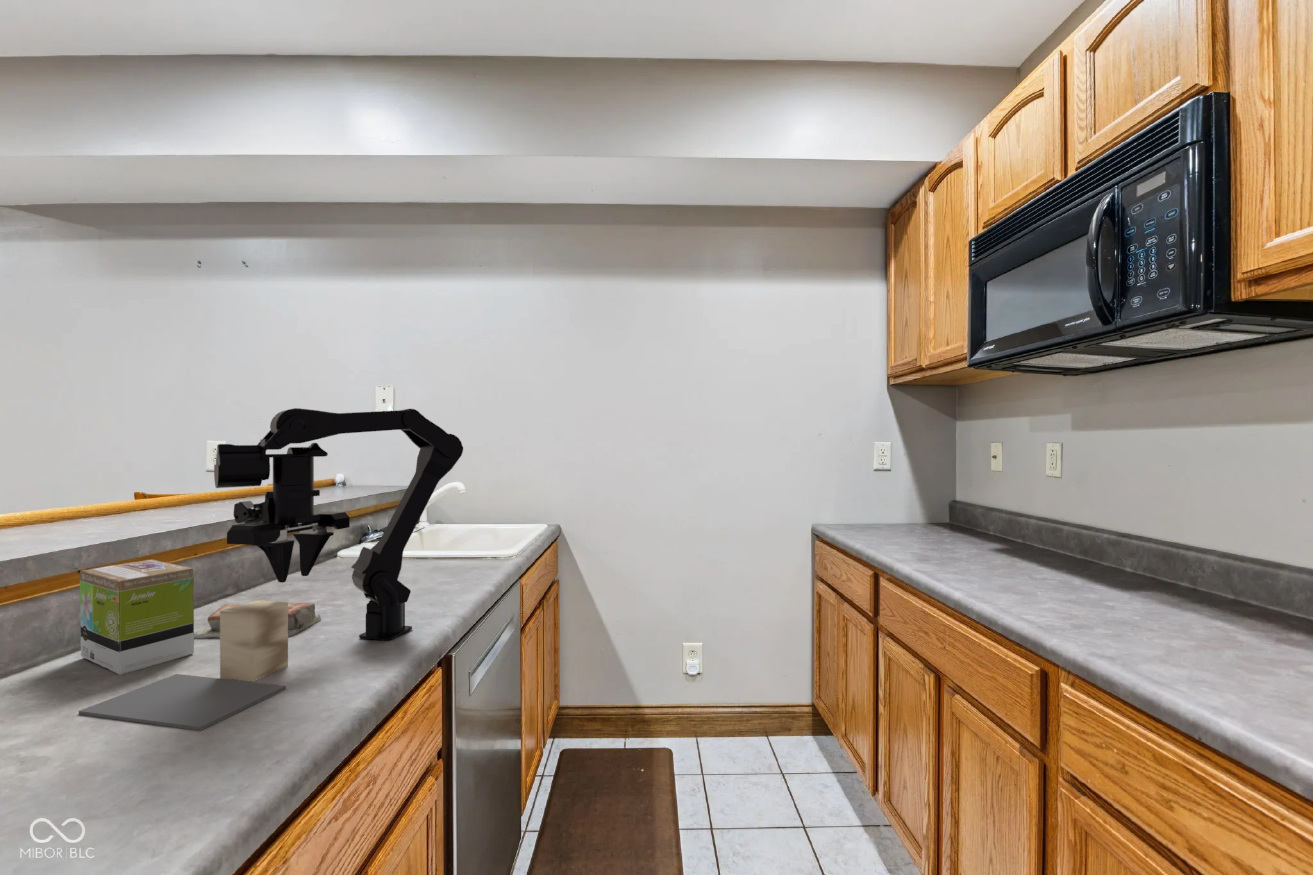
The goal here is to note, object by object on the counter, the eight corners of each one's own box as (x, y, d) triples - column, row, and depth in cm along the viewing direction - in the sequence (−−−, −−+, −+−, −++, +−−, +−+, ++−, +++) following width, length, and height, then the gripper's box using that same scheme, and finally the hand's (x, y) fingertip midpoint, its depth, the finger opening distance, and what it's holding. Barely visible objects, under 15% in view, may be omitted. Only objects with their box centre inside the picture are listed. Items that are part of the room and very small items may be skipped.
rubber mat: (176, 676, 85) (176, 673, 85) (286, 688, 80) (286, 685, 80) (78, 713, 73) (78, 710, 73) (200, 730, 68) (200, 727, 68)
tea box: (77, 659, 92) (77, 568, 92) (154, 640, 101) (154, 557, 101) (117, 676, 85) (117, 578, 85) (196, 654, 94) (196, 565, 94)
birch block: (257, 662, 90) (257, 599, 90) (288, 665, 89) (288, 601, 89) (220, 678, 84) (220, 610, 84) (252, 681, 83) (252, 613, 83)
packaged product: (322, 597, 112) (292, 612, 102) (323, 621, 112) (292, 639, 102) (230, 599, 112) (190, 614, 102) (230, 623, 112) (190, 641, 102)
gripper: (300, 480, 104) (300, 565, 104) (197, 488, 86) (197, 591, 86) (351, 481, 102) (352, 567, 102) (257, 489, 84) (257, 594, 83)
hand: (293, 579), depth 93 cm, fingers open, 4 cm apart
